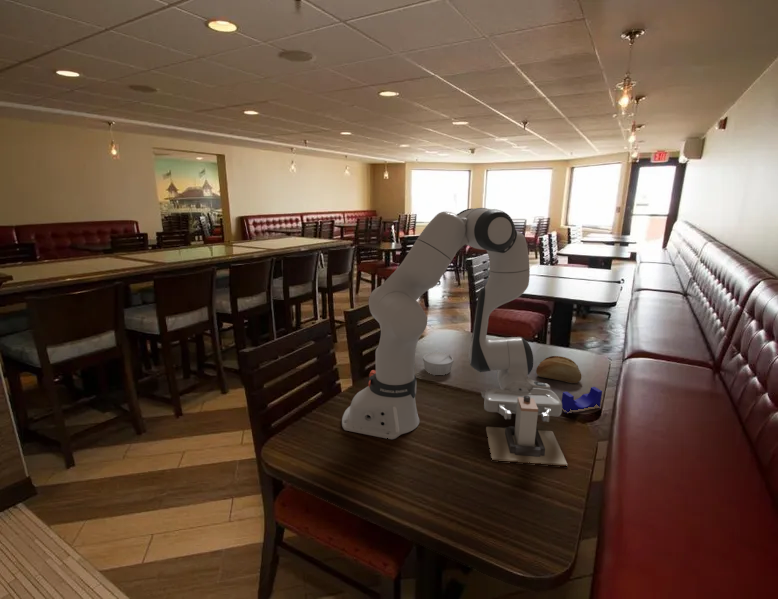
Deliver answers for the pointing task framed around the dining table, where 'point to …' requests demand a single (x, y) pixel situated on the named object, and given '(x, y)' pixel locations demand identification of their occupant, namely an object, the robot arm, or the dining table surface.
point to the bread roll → (559, 369)
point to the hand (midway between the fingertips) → (527, 418)
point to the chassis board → (524, 447)
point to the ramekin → (437, 363)
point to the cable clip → (581, 400)
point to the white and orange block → (526, 421)
